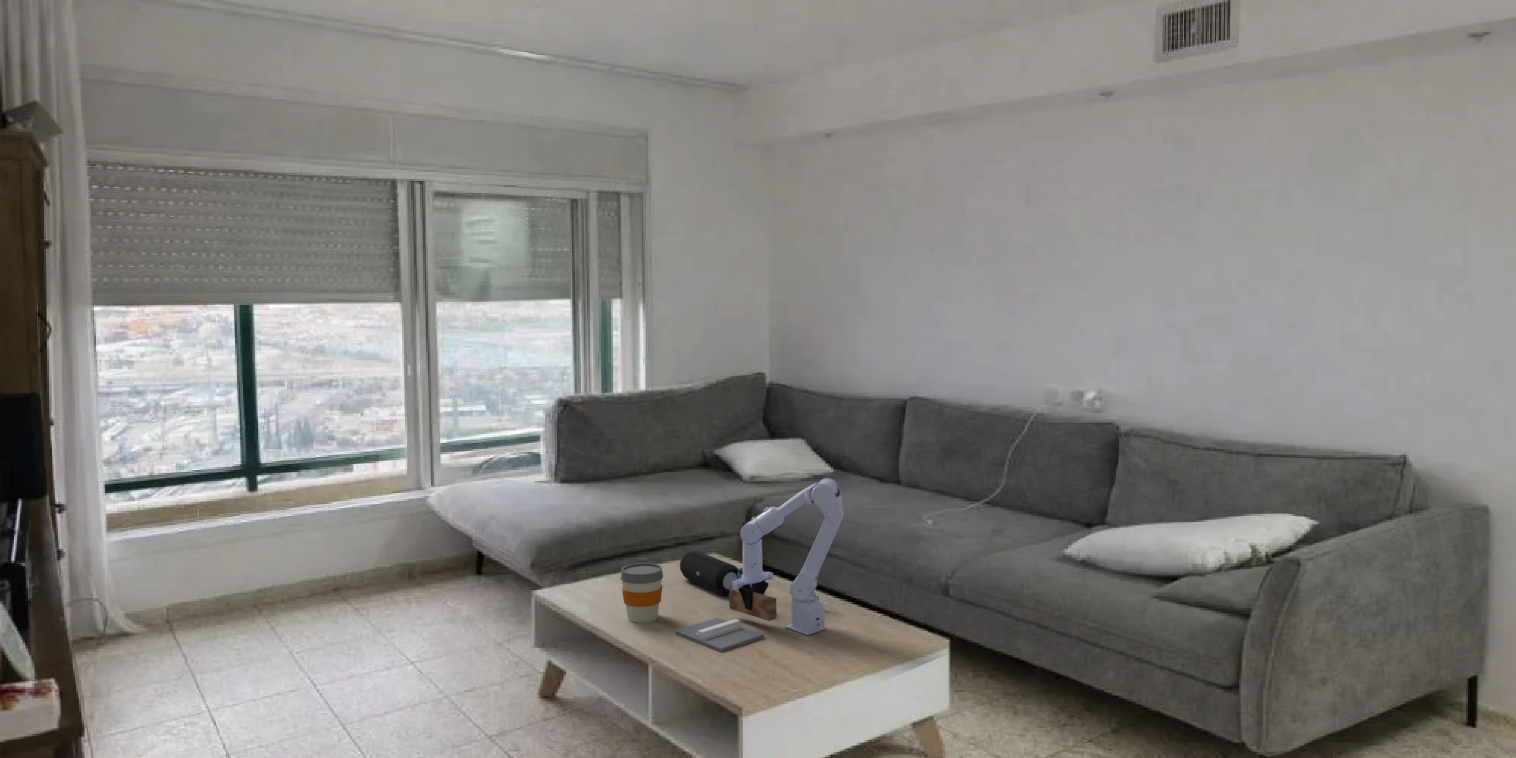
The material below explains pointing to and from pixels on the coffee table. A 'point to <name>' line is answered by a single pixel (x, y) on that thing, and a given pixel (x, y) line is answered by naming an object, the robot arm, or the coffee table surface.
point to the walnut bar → (754, 605)
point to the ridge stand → (719, 634)
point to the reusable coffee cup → (642, 591)
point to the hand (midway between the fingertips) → (753, 607)
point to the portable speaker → (708, 571)
